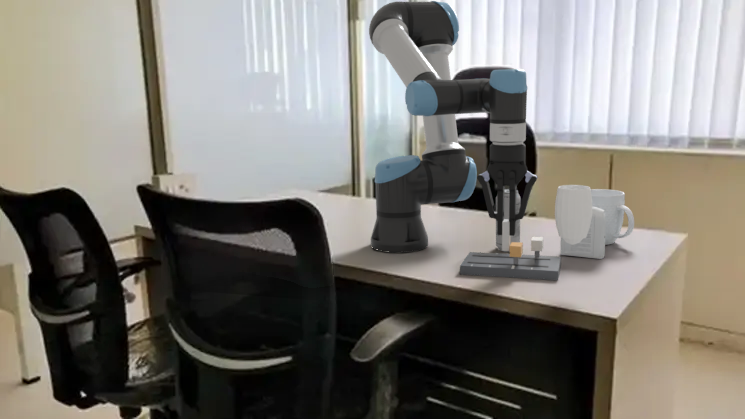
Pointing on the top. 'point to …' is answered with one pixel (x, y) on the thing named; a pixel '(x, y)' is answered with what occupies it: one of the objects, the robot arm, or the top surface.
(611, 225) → the mug
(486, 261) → the console
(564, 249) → the photo printer
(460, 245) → the top surface
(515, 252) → the fader orange
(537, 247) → the fader white
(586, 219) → the cup
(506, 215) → the energy drink can
